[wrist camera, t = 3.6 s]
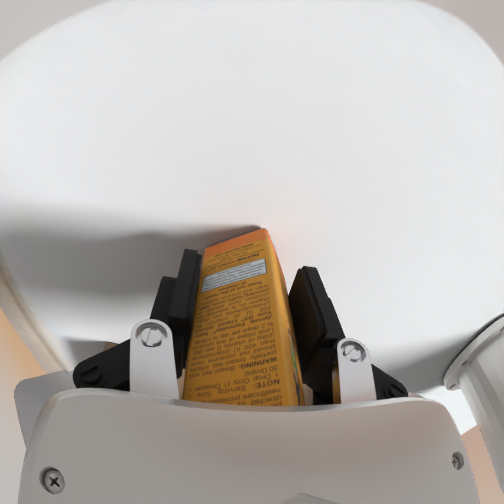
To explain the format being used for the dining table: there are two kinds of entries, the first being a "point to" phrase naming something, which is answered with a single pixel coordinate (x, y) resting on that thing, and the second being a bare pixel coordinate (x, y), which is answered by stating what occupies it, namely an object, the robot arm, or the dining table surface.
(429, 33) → the dining table surface
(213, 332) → the supplement box
